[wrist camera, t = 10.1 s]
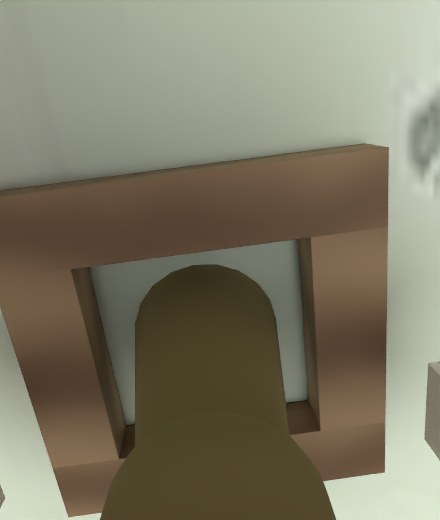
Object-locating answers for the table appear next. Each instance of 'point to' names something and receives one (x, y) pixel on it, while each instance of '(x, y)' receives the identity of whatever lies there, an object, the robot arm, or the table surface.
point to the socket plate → (191, 241)
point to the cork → (212, 410)
